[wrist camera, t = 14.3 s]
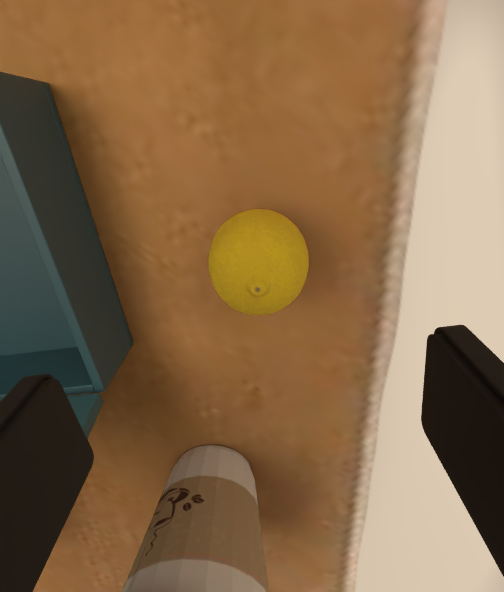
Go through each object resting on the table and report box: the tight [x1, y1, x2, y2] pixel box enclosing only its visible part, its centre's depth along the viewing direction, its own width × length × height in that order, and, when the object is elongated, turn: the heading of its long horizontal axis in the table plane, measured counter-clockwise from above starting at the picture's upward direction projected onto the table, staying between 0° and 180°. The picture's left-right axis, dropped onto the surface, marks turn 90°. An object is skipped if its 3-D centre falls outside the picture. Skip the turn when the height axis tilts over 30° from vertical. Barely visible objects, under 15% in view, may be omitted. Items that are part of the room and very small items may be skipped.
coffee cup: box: [122, 445, 269, 592], centre depth 26 cm, size 11×11×15 cm
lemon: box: [208, 209, 309, 315], centre depth 20 cm, size 6×6×8 cm
